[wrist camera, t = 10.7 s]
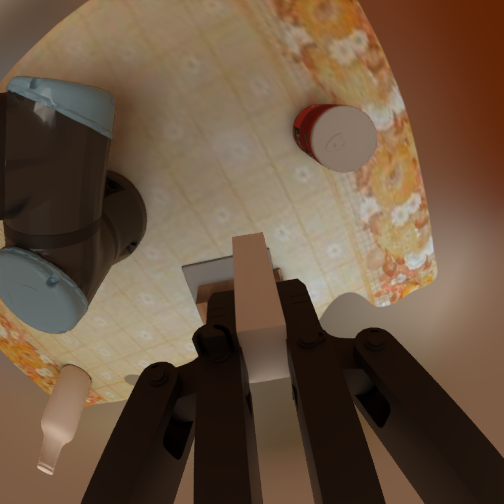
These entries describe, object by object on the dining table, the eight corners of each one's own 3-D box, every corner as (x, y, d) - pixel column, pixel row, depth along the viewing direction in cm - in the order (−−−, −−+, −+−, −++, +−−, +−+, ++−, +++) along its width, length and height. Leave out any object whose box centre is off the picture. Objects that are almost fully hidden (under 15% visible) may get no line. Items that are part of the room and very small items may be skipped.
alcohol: (64, 358, 58) (25, 458, 32) (94, 374, 61) (64, 477, 35) (61, 374, 62) (27, 465, 35) (88, 388, 64) (62, 481, 38)
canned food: (280, 132, 39) (297, 141, 29) (317, 93, 36) (345, 90, 26) (319, 166, 41) (345, 187, 32) (354, 129, 39) (389, 139, 29)
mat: (206, 327, 54) (206, 329, 54) (182, 266, 48) (181, 268, 47) (281, 313, 54) (282, 315, 53) (268, 247, 47) (269, 249, 47)
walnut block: (285, 297, 51) (208, 312, 52) (280, 269, 48) (198, 285, 49) (290, 315, 47) (206, 331, 48) (285, 286, 44) (195, 304, 45)
